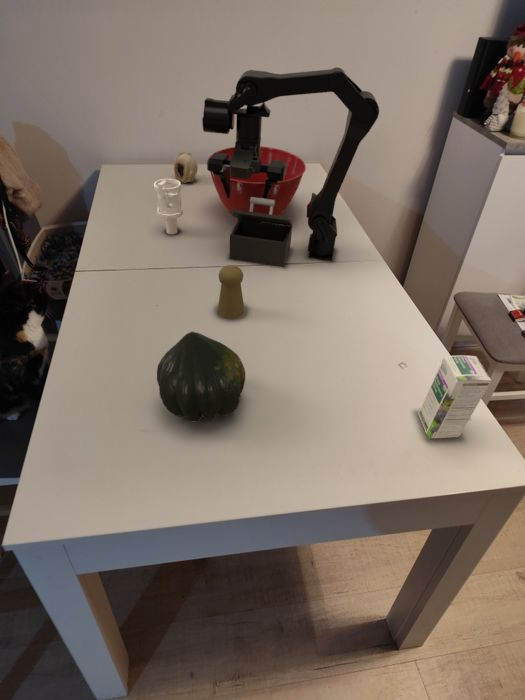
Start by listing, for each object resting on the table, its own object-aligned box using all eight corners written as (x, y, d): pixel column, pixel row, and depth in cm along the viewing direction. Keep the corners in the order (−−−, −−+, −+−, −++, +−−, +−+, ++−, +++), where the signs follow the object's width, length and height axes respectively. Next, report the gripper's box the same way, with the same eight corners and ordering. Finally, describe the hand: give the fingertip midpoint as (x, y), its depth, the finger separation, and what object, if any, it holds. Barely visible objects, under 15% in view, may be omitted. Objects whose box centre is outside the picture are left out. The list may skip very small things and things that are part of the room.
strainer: (154, 234, 125) (147, 181, 115) (167, 223, 130) (162, 172, 120) (176, 239, 124) (171, 186, 114) (189, 229, 128) (185, 177, 118)
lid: (288, 220, 107) (291, 200, 107) (230, 212, 109) (232, 193, 109) (292, 226, 118) (295, 208, 117) (238, 218, 119) (241, 201, 119)
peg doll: (240, 320, 98) (241, 278, 91) (214, 316, 99) (212, 274, 91) (247, 305, 102) (248, 263, 95) (221, 301, 103) (220, 259, 96)
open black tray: (283, 267, 115) (286, 243, 111) (229, 258, 117) (229, 235, 113) (290, 249, 122) (292, 226, 118) (238, 241, 124) (238, 219, 120)
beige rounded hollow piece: (177, 183, 158) (171, 153, 154) (201, 179, 158) (195, 149, 154) (174, 185, 149) (167, 153, 145) (199, 181, 149) (193, 149, 145)
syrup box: (416, 413, 80) (441, 354, 71) (447, 412, 81) (477, 354, 71) (427, 439, 76) (456, 380, 66) (460, 438, 77) (493, 379, 67)
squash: (229, 433, 69) (241, 336, 68) (137, 419, 70) (148, 325, 70) (244, 419, 83) (254, 339, 83) (168, 408, 85) (177, 330, 84)
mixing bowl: (319, 220, 136) (326, 169, 126) (240, 243, 124) (241, 189, 113) (266, 187, 153) (269, 140, 143) (192, 205, 140) (189, 154, 130)
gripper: (198, 140, 98) (201, 208, 108) (281, 152, 96) (276, 219, 106) (213, 126, 106) (214, 190, 116) (290, 136, 104) (284, 201, 114)
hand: (246, 200), depth 113 cm, fingers open, 9 cm apart
